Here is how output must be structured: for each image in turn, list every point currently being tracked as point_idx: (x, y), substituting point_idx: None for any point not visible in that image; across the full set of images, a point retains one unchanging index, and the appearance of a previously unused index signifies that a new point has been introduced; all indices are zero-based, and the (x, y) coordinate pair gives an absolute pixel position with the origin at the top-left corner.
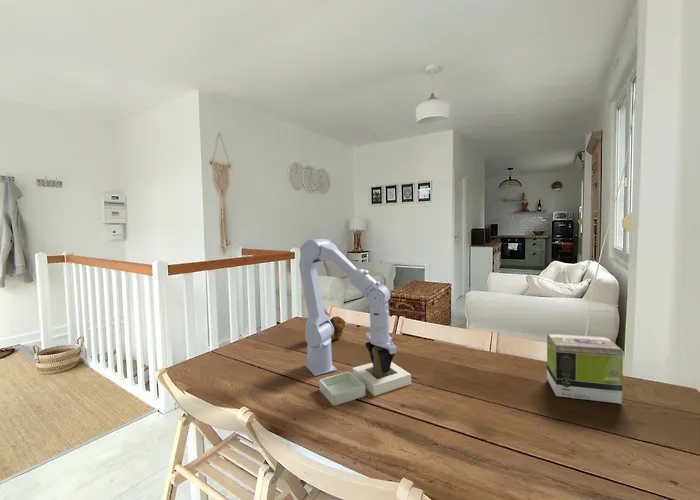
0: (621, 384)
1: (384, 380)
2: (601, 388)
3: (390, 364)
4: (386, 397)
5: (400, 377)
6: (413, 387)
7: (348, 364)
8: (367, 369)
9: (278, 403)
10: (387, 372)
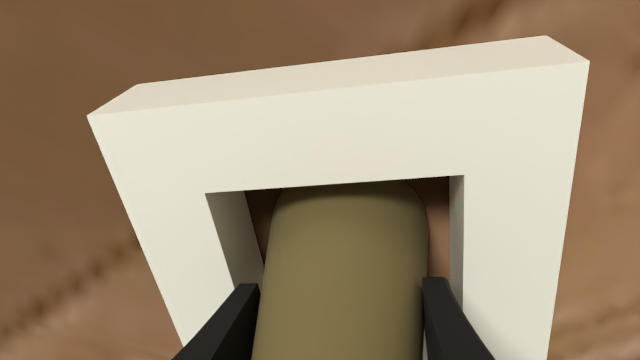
0: None
1: (517, 333)
2: None
3: (474, 333)
4: (582, 299)
5: (567, 203)
6: (614, 50)
7: (44, 307)
8: None
9: None
10: (419, 269)
